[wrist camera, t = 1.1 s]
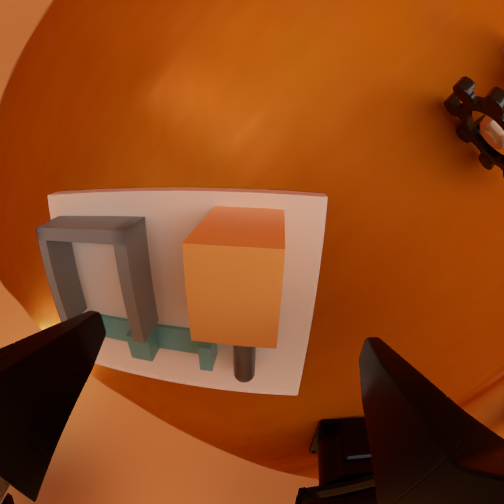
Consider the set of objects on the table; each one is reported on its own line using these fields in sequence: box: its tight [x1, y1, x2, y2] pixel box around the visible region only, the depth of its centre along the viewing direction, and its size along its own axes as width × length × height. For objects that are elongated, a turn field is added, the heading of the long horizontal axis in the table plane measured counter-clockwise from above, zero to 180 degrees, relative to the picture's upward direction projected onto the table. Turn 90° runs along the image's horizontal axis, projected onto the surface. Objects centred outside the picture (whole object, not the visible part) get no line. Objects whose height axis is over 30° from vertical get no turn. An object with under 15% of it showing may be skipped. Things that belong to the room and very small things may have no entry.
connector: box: [182, 206, 285, 383], centre depth 15 cm, size 11×4×6 cm, turn 179°
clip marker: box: [137, 324, 217, 371], centre depth 18 cm, size 2×5×2 cm, turn 89°
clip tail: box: [101, 314, 142, 360], centre depth 18 cm, size 2×5×2 cm, turn 89°
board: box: [47, 187, 328, 395], centre depth 18 cm, size 15×18×1 cm
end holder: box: [36, 216, 159, 343], centre depth 16 cm, size 7×7×2 cm
